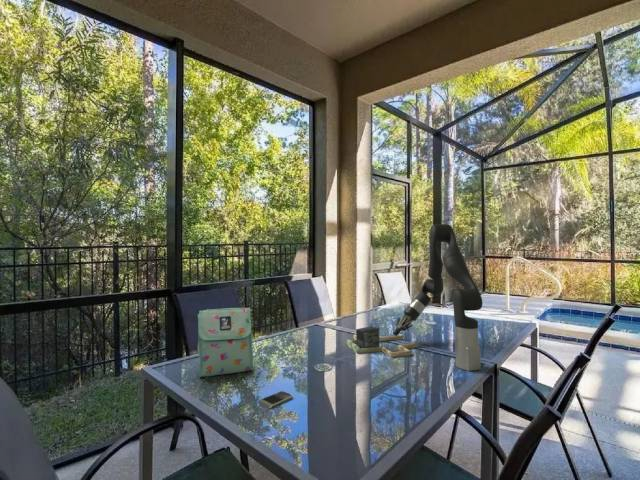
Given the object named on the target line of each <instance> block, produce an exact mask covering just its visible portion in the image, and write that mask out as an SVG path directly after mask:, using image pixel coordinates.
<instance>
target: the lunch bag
mask: <svg viewBox="0 0 640 480" xmlns="http://www.w3.org/2000/svg"><path fill="white" fill-rule="evenodd" d="M197 323H198V324H197V325H198V327H197V339H198V341H197V342H198V343H197V353H198V356H199V375H198V376H199V378H202V377H205V378H206V377H214V376H220V375H226V374H227V375H228V374H235V373H237V374H238V373H243V372H249V371H252V370H254V360H253V335H252V319H251V308H250V307H229V308H228V307H227V308H215V309H214V308H213V309H211V308H207V309H203V310H199V312H198V314H197Z"/></svg>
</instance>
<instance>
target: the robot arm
mask: <svg viewBox="0 0 640 480" xmlns="http://www.w3.org/2000/svg"><path fill="white" fill-rule="evenodd" d="M437 243H446V244H447V249H445V253H444V254H443V256H442V257H443V258H442V257H441V254H440V253H439V251H438V247H437ZM443 267H444V268H445V271H446V272H447V274H448V275H449V276H450V277H451V278H453V279H454V280H455V281H456V282H458V283H459V284H460V285H461V286H462V287H463V288H457V289H455V290H453V293H452V304H453V317H454V335H455V336H454V338H455V341H454V342H455V349H454V350H455V366H456V367H457V368H458V369H461V370H465V371H468V372H471V371H478V370H481V369H482V361H481V360H482V359H481V358H482V357H481V346H480V344H479V343H480V341H479V321H478V320H477V319H475V318H473V317H469V316H467V314H466V312H467V311H470V312H473V311H479V310H481V309H482V308H483V298H482V294H481V293H480V290H479V289H478V287H477V285H476V283H475V281H474V279H473V278H472V276H471V273H470V271H469V268H468V266H467V263H466V260H465V258H464V256H463V254H462V252H461V250H460V247H459V244H458V241H457V236H456V234H455V232H454V228H453V226H451V224H441V223H440V224H439V223H437V224H432V225H431V226H430V228H429V264H428V270H427V271H428V272H427V275H428V277H429V279H426V280H425V281H424V282H423V283H422V286H421V288H420V291H419V293H418V294H417V296H416V297H415V298H414V299H413V300H412V301H411V302H410V303H409V304H408V306H407V307H406V308H405V309H404V311H403V313H404V314H403V315H402V316H401V317H398V318H397V320H396V323H395V327H396V328H395V329H394V330H393V331H392V334H393V336H399V334H400V332H402V331H403V332H404V331H406V330H407V329H410V328H411V327H413V324H412V323H413V321H414V322H416V320H418V318H419V317H420V316H421V314H423V312H424V310H425V309H426V308H427V307H428V305H429V304H430V302H431V297H430V296H429V295H428V293H429V294H432V295H433V296H438V297H439V296H440V295H441V294H442V293H443V291H444V281H443V276H442V274H443V270H444V268H443Z"/></svg>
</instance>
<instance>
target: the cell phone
mask: <svg viewBox="0 0 640 480" xmlns="http://www.w3.org/2000/svg"><path fill="white" fill-rule="evenodd" d="M293 397H294V395H293V394H291V393H289V392H287V391H279V392H276V393H273V394H271V395H269V396H266V397H264V398H261V399H260V400H259V401H258V405H260V406H262V407H264V408H265V409H269V410H270V409H272V408H274V407H276V406H279V405H281V404H283V403H285V402H288V401H290V400H292V399H293Z"/></svg>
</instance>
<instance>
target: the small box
mask: <svg viewBox="0 0 640 480" xmlns="http://www.w3.org/2000/svg"><path fill="white" fill-rule="evenodd" d="M355 332H356V333H355V334H356V338H357V344H356V345H357V346H358V347H359V349H360V348H370V347H380V342H379V337H380V327H375V326H371V325H370V326H365V327H361V328H356V329H355Z"/></svg>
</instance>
